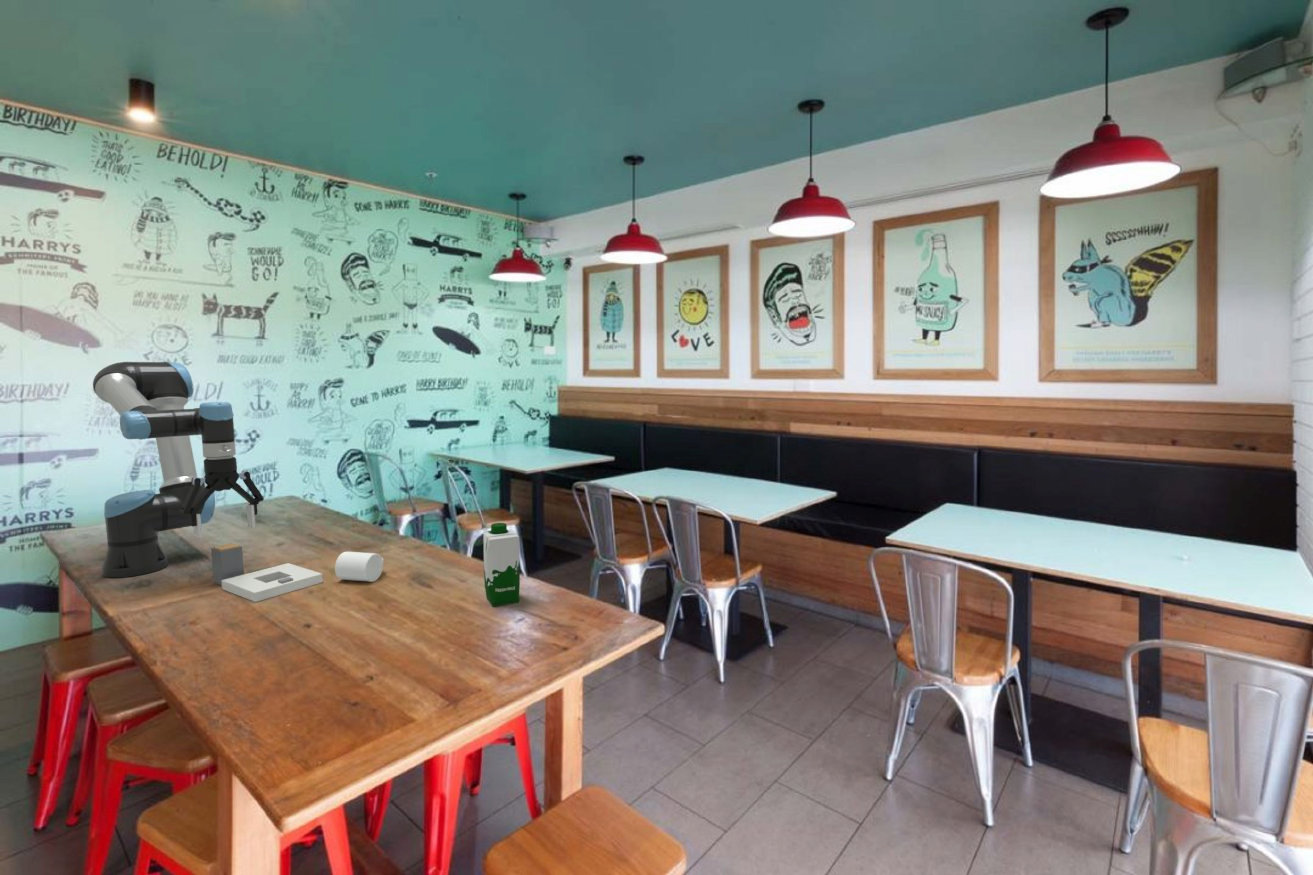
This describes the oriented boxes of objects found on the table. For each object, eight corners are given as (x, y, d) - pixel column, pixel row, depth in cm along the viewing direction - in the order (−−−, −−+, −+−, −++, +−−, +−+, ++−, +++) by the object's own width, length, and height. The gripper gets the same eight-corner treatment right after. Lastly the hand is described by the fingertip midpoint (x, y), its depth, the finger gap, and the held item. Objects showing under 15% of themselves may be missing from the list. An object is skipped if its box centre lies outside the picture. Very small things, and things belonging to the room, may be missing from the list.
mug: (366, 585, 176) (364, 558, 176) (335, 583, 178) (333, 555, 177) (392, 572, 188) (391, 546, 187) (362, 569, 190) (361, 544, 189)
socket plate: (222, 588, 173) (221, 578, 173) (288, 571, 188) (288, 561, 188) (255, 602, 164) (254, 590, 163) (322, 582, 179) (322, 571, 178)
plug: (213, 582, 178) (211, 547, 177) (235, 577, 183) (232, 542, 182) (223, 586, 175) (220, 550, 174) (244, 580, 180) (241, 545, 179)
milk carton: (514, 592, 172) (513, 520, 169) (523, 603, 164) (522, 528, 161) (482, 597, 168) (480, 524, 165) (489, 609, 160) (487, 532, 157)
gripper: (173, 464, 163) (180, 543, 165) (273, 453, 184) (278, 524, 186) (160, 462, 166) (167, 539, 169) (260, 451, 188) (265, 521, 190)
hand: (225, 531), depth 177 cm, fingers open, 13 cm apart
